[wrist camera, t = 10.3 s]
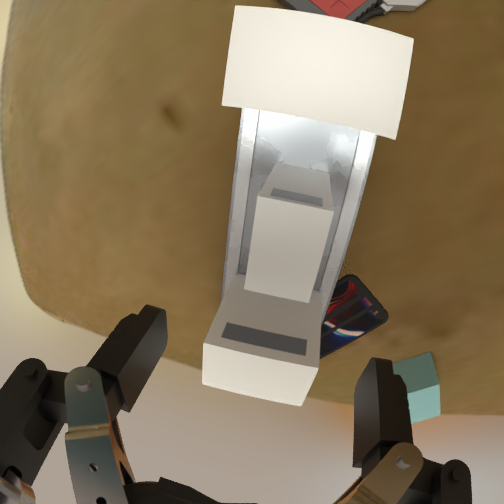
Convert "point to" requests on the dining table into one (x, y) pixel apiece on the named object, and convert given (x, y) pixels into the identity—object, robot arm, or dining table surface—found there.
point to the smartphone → (349, 315)
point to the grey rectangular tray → (302, 155)
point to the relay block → (420, 386)
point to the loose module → (289, 232)
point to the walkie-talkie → (351, 7)
